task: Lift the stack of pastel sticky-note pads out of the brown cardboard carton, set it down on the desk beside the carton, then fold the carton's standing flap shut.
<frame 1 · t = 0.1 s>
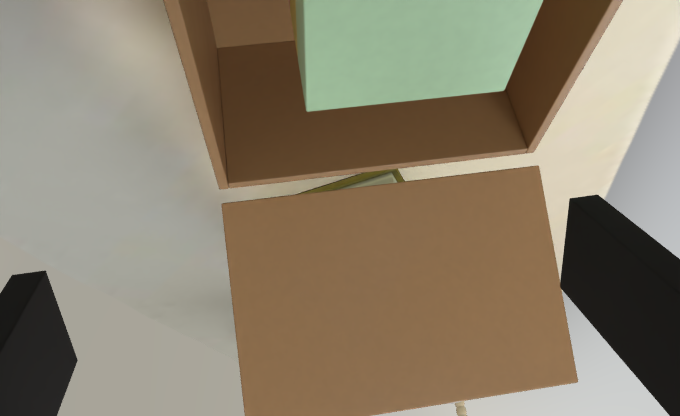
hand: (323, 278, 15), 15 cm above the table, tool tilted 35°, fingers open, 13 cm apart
hardcover book: (359, 237, 51), on the table
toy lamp: (452, 370, 112), on the table
flap: (399, 293, 25), point 13 cm above the table, hinge at 110.0°
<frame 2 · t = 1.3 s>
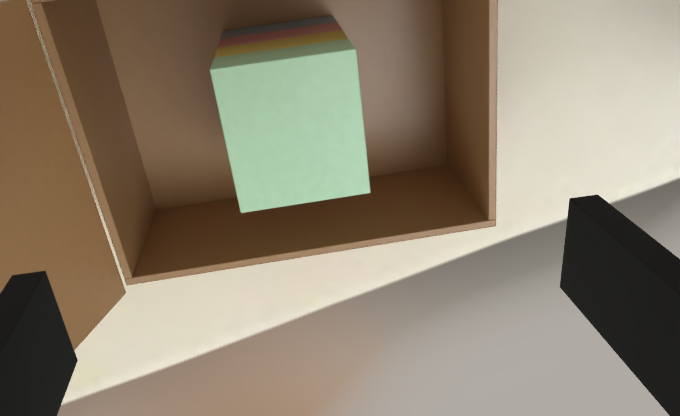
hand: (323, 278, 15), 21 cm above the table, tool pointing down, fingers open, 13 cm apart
carton: (287, 81, 34), on the table
sticky pads: (287, 82, 33), resting on carton
flap: (1, 214, 22), point 13 cm above the table, hinge at 110.0°
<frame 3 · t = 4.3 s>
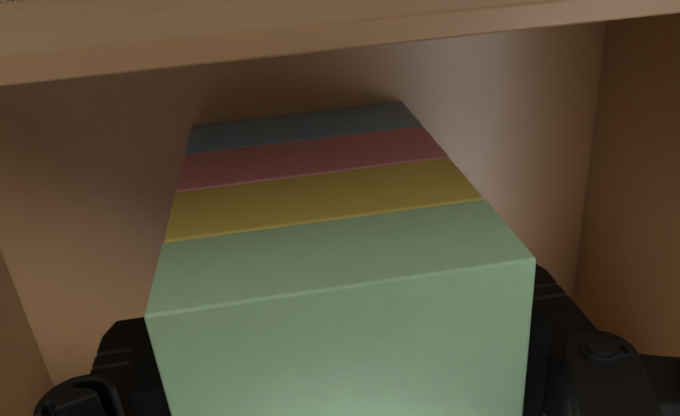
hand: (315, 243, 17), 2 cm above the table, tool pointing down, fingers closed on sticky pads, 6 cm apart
carton: (308, 210, 18), on the table
sticky pads: (310, 216, 18), resting on carton, touching gripper
when the fingers open (2 cm above the table, at t = 11.7 s): sticky pads stays where it is, on the table.
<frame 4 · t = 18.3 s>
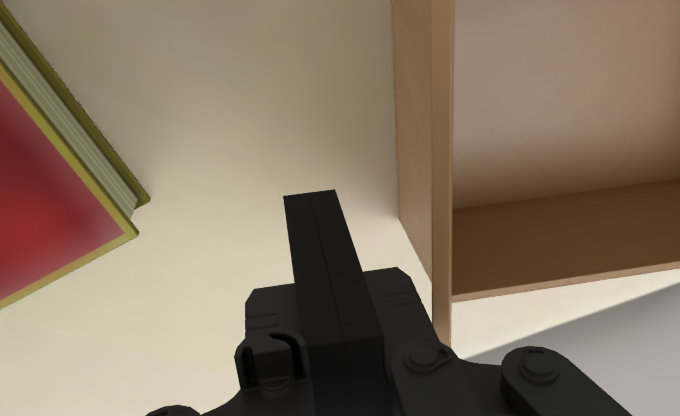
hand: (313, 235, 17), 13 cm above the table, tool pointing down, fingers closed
carton: (576, 74, 30), on the table
flap: (444, 220, 17), point 13 cm above the table, hinge at 108.3°, touching gripper
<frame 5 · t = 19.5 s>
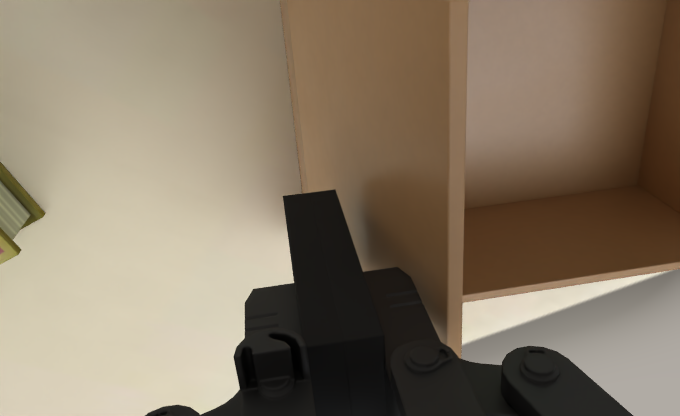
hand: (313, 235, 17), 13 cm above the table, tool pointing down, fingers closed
carton: (481, 86, 29), on the table
flap: (366, 235, 17), point 13 cm above the table, hinge at 76.1°, touching gripper
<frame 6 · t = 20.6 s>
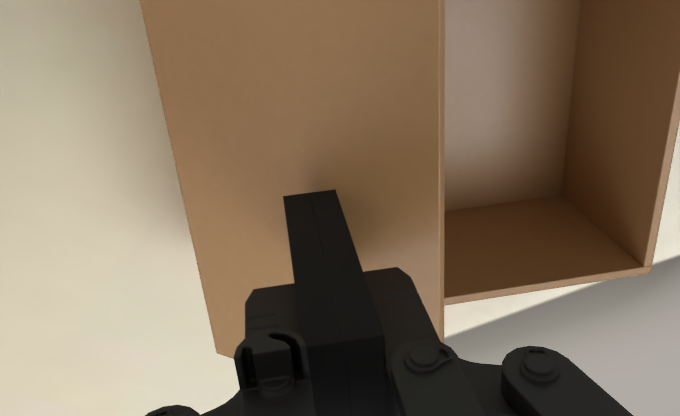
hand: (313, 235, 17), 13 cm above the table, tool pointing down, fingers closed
carton: (394, 96, 29), on the table
flap: (299, 216, 18), point 11 cm above the table, hinge at 37.2°
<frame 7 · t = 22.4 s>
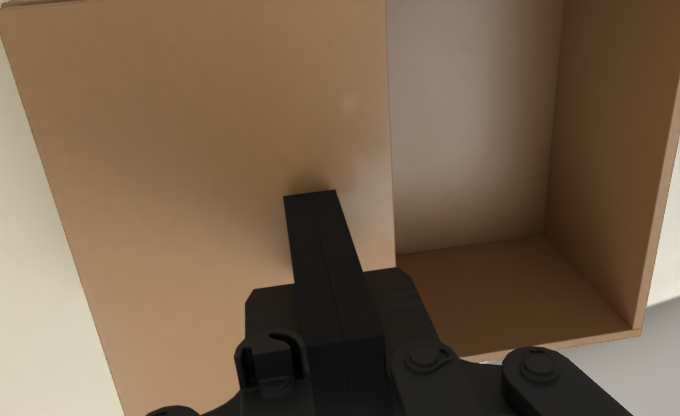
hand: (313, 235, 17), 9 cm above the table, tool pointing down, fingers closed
carton: (349, 126, 25), on the table
flap: (238, 237, 17), point 9 cm above the table, hinge at 0.5°, touching gripper
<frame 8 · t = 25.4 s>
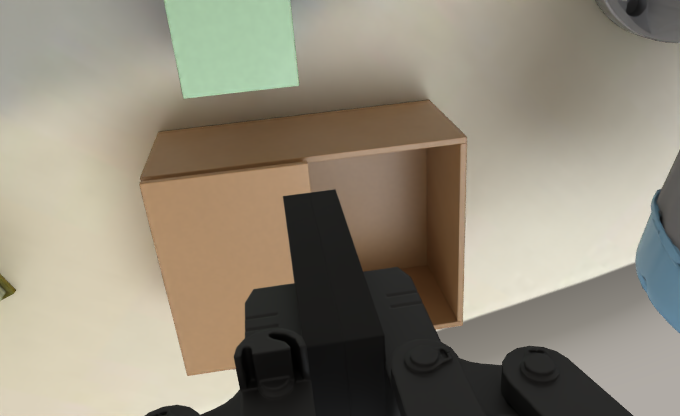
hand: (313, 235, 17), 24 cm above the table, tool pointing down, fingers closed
carton: (306, 204, 44), on the table
sticky pads: (234, 3, 37), on the table
flap: (243, 276, 36), point 9 cm above the table, hinge at 0.5°
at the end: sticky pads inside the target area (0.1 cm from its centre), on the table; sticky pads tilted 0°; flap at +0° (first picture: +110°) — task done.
